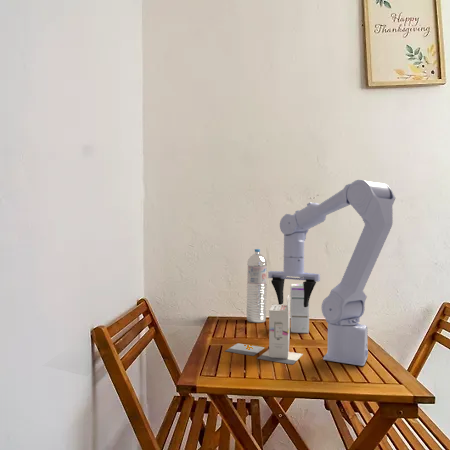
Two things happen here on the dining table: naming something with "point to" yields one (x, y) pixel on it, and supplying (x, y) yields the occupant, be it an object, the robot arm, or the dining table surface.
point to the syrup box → (298, 310)
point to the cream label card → (291, 358)
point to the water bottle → (256, 288)
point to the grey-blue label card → (242, 349)
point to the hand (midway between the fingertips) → (293, 305)
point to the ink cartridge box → (279, 330)
